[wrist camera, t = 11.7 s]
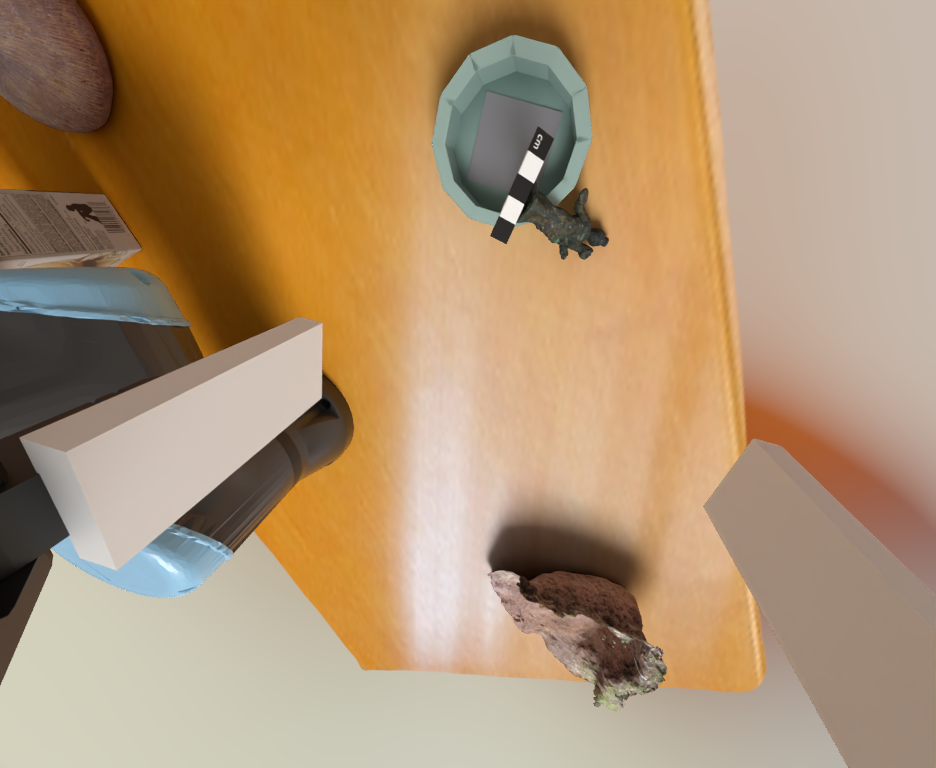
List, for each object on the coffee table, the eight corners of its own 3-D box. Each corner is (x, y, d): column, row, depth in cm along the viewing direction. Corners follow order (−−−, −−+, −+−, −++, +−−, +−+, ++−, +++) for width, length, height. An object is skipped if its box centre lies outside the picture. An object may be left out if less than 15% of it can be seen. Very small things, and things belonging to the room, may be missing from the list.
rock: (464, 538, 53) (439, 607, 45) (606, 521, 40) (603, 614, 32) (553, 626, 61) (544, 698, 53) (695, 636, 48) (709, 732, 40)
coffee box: (101, 279, 43) (-123, 313, 28) (60, 225, 40) (-204, 233, 26) (145, 250, 39) (-80, 271, 25) (104, 190, 37) (-169, 177, 23)
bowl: (433, 204, 31) (421, 203, 28) (465, 41, 26) (453, 18, 23) (553, 241, 31) (554, 244, 28) (610, 81, 25) (619, 63, 22)
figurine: (538, 126, 20) (654, 217, 26) (506, 129, 23) (616, 210, 29) (490, 236, 22) (607, 295, 29) (467, 225, 25) (577, 281, 32)
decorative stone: (35, -78, 28) (-70, -135, 23) (143, 98, 32) (74, 81, 27) (-33, 9, 31) (-135, -24, 27) (72, 156, 36) (1, 149, 31)
